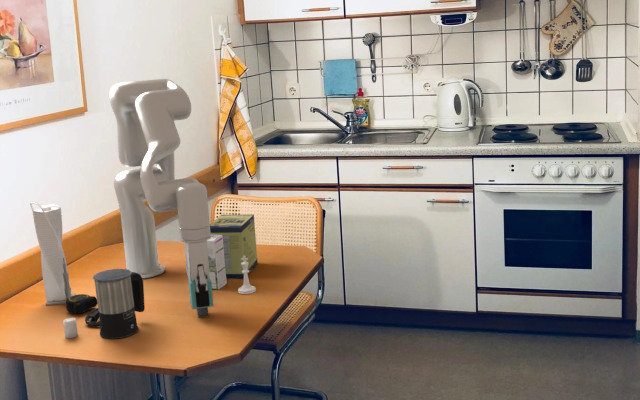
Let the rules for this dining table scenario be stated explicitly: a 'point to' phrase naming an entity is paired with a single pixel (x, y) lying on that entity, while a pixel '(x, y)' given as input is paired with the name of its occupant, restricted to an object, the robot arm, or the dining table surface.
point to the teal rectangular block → (193, 297)
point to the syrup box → (216, 261)
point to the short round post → (70, 328)
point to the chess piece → (246, 279)
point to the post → (202, 312)
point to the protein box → (236, 242)
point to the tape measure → (80, 303)
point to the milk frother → (117, 303)
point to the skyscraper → (52, 253)
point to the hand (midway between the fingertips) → (201, 302)
